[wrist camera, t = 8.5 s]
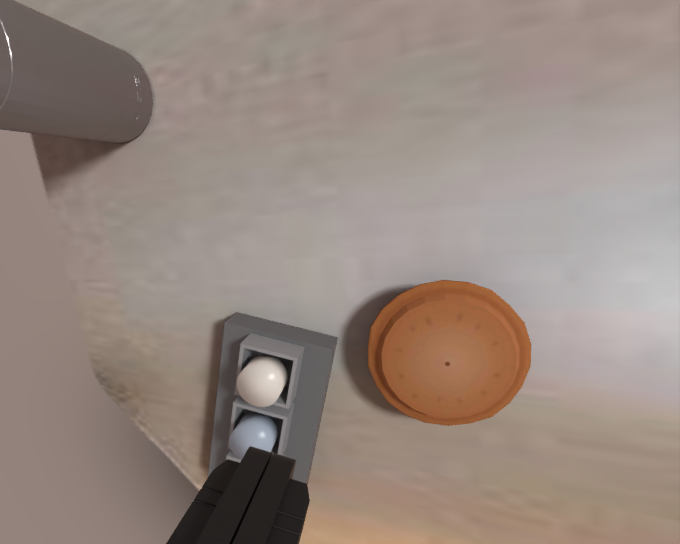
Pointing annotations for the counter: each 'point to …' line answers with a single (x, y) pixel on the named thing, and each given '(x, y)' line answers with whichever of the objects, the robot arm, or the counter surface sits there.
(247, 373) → the white button
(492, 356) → the pie
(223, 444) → the button panel
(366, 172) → the counter surface
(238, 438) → the bluegrey button
